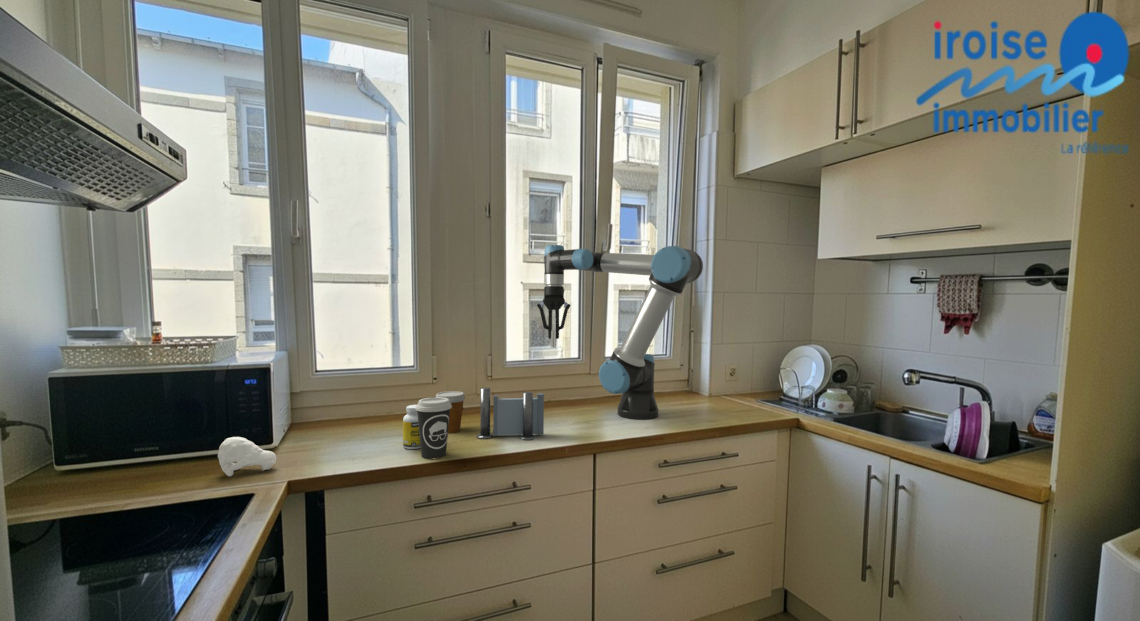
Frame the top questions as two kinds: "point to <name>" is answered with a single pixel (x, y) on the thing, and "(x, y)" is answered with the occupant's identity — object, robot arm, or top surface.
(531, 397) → the post
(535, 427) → the gate
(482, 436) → the hinge post
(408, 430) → the pill bottle
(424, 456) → the coffee cup
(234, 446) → the white lumpy piece
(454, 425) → the disposable coffee cup
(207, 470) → the top surface
